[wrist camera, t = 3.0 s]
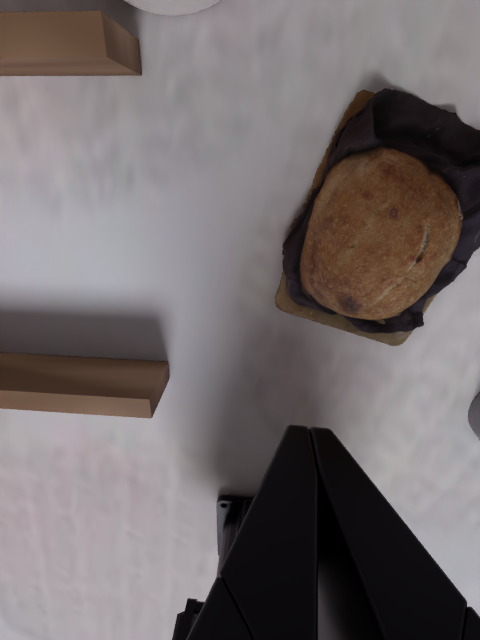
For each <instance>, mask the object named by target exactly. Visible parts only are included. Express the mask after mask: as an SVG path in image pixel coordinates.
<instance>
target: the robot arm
mask: <svg viewBox="0 0 480 640" xmlns="http://www.w3.org/2000/svg"><path fill="white" fill-rule="evenodd" d="M217 536H218V555H219V563H218V570H217V578H216V580H215V582H214V584H213V586H212V588H211V590H210V592H209V595H208V597H207V599H206V601H205V602H200V601H197V599H191V598H188V600H187V604H186V608H185V611H184V612H181V613H179V614H177V619H176V624H175V629H174V634H173V638H172V640H480V617H479V616H478V614H477V613H476V612H475V611H474V609H473V608H472V607H467V601H466V599H465V598H464V597H463V596H462V594H461V593H460V592H459V591H458V589H457V588H456V587H455V586H454V584H453V583H452V582H451V581H450V579H449V578H448V577H447V576H446V574H445V573H444V572H443V570H442V569H441V568H440V567H439V565H438V564H437V563H436V562H435V560H434V559H433V558H432V557H431V555H430V554H429V553H428V552H427V550H426V549H425V548H424V546H423V545H422V544H421V543H420V541H419V540H418V539H417V538H416V536H415V535H414V534H413V533H412V531H411V530H410V529H409V528H408V526H407V525H406V524H405V522H404V521H403V520H402V519H401V517H400V516H399V515H398V514H397V512H396V511H395V510H394V509H393V507H392V506H391V505H390V504H389V502H388V501H387V500H386V498H385V497H384V496H383V495H382V493H381V492H380V491H379V490H378V488H377V487H376V486H375V485H374V483H373V482H372V481H371V480H370V478H369V477H368V476H367V474H366V473H365V472H364V471H363V469H362V468H361V467H360V466H359V464H358V463H357V462H356V461H355V459H354V458H353V457H352V456H351V454H350V453H349V452H348V450H347V449H346V448H345V447H344V445H343V444H342V443H341V442H340V440H339V439H338V438H337V437H336V435H335V434H334V433H333V432H332V430H330V429H328V428H319V427H311V428H309V429H308V427H306V426H298V425H289V426H287V428H286V430H285V432H284V434H283V437H282V439H281V441H280V443H279V445H278V447H277V449H276V452H275V454H274V456H273V458H272V460H271V462H270V464H269V467H268V469H267V471H266V473H265V475H264V477H263V479H262V482H261V484H260V486H259V488H258V490H257V492H256V494H255V497H254V498H248V497H235V496H220V497H219V498H218V500H217Z"/></svg>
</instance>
